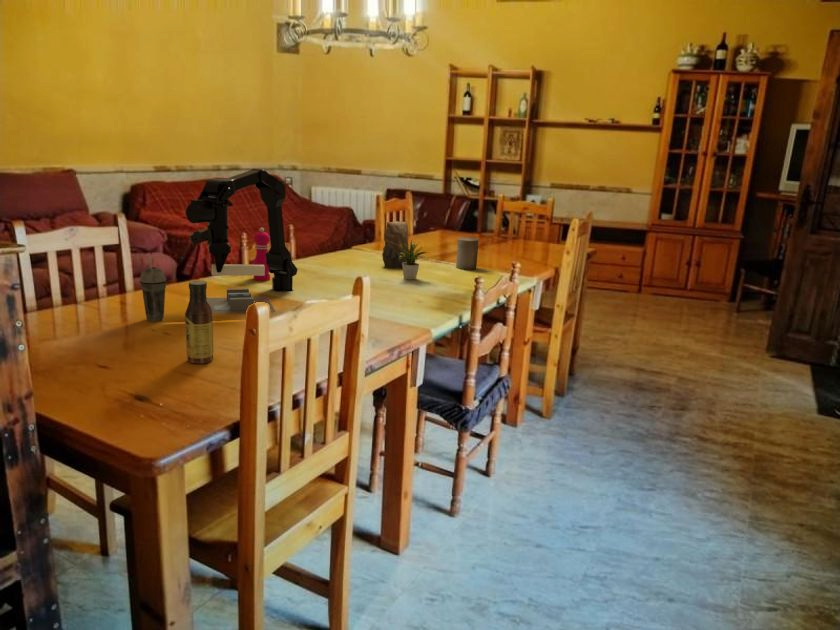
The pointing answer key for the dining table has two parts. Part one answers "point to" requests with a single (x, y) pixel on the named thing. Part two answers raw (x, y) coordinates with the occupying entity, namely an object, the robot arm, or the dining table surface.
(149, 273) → the beverage cup
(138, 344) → the dining table surface
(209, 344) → the sauce bottle
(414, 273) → the house plant
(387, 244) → the rough stone block
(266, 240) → the pepper mill
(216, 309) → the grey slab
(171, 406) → the dining table surface
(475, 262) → the pillar candle
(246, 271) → the light grey bar
